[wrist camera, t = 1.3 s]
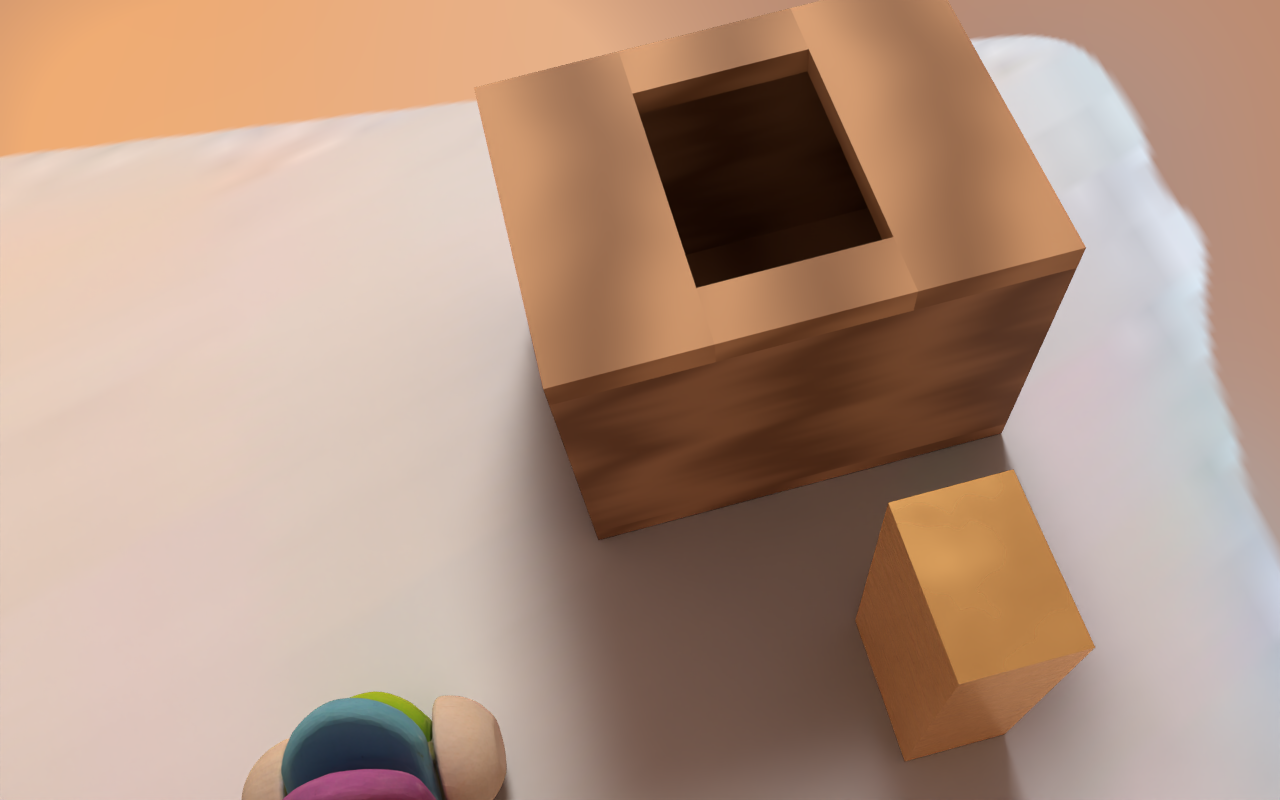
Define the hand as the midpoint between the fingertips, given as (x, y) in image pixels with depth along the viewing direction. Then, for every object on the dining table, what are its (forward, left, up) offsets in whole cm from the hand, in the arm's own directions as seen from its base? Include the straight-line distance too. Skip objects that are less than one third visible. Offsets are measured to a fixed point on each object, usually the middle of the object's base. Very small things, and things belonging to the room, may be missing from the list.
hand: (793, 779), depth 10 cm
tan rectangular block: (+8, +6, -27) cm, 29 cm away
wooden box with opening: (+5, +20, -27) cm, 34 cm away
